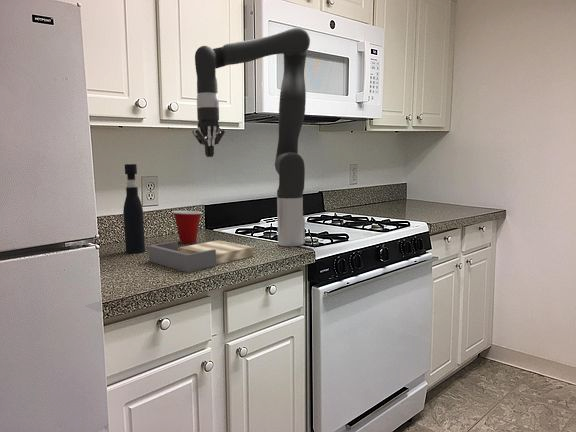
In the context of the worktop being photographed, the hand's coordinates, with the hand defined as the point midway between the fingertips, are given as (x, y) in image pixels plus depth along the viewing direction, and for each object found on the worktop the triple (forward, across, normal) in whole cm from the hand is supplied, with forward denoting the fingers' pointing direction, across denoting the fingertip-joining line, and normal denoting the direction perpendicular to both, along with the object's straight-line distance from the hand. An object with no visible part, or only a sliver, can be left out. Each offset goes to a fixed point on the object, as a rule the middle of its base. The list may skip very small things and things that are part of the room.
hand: (209, 156), depth 173 cm
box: (+32, +23, +15) cm, 42 cm away
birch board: (+32, +10, +15) cm, 37 cm away
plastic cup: (+32, +2, -12) cm, 34 cm away
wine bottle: (+32, +24, -12) cm, 42 cm away
